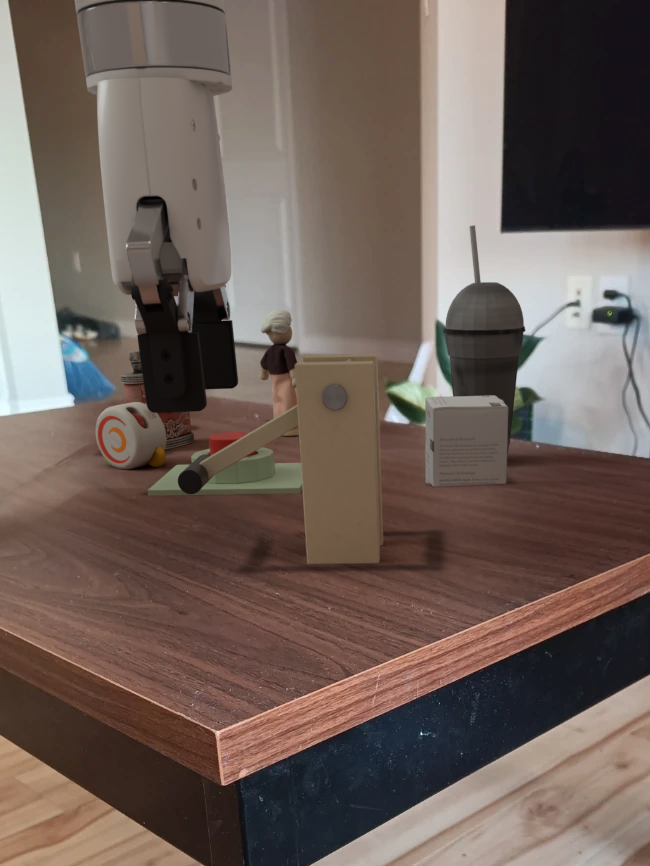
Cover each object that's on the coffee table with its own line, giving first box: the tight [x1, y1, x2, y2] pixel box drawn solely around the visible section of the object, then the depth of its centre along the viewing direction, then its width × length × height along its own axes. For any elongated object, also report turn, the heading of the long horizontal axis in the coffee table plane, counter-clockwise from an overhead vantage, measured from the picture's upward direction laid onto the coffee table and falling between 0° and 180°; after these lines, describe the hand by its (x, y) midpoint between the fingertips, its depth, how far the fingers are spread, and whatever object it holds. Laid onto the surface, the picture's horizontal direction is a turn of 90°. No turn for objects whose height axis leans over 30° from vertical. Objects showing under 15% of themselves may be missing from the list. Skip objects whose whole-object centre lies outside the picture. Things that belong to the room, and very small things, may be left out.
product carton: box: [424, 395, 508, 487], centre depth 83 cm, size 6×6×7 cm
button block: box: [146, 446, 303, 497], centre depth 85 cm, size 12×10×4 cm
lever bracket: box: [295, 353, 384, 565], centre depth 62 cm, size 11×8×13 cm
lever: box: [178, 359, 352, 494], centre depth 62 cm, size 12×5×2 cm, turn 89°
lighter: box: [120, 349, 195, 450], centre depth 105 cm, size 8×3×10 cm, turn 147°
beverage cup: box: [443, 224, 526, 455], centre depth 92 cm, size 7×7×20 cm
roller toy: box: [95, 402, 167, 471], centre depth 97 cm, size 4×6×6 cm
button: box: [208, 431, 255, 457], centre depth 84 cm, size 4×4×2 cm
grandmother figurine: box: [259, 308, 299, 437], centre depth 111 cm, size 8×4×13 cm, turn 49°
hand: (196, 398), depth 61 cm, fingers open, 9 cm apart
